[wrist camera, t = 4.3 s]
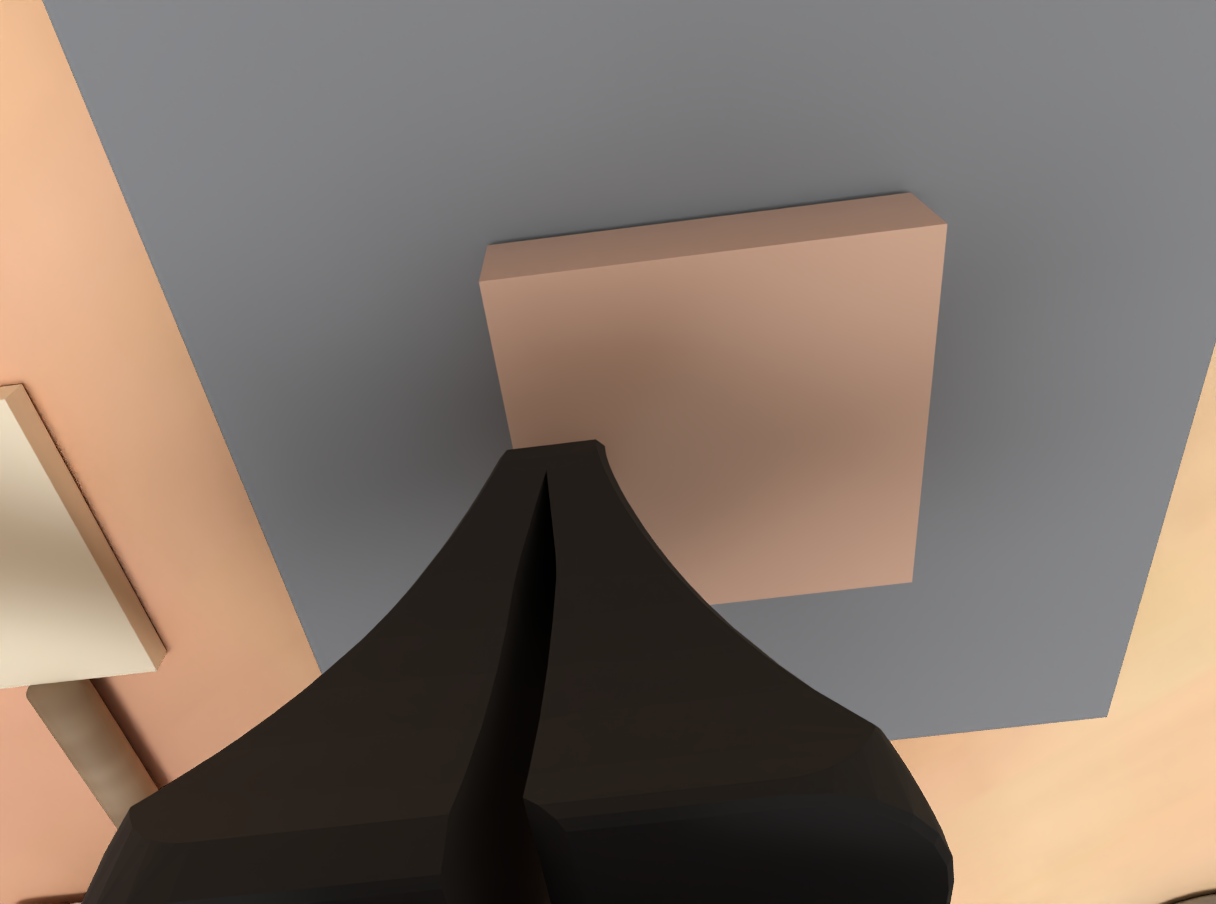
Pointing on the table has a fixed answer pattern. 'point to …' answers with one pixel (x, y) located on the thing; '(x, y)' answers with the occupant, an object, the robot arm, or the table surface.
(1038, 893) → the table surface
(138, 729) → the table surface
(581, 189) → the mat
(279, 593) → the table surface
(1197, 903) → the travel mug
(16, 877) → the table surface
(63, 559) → the turner
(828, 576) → the tile
